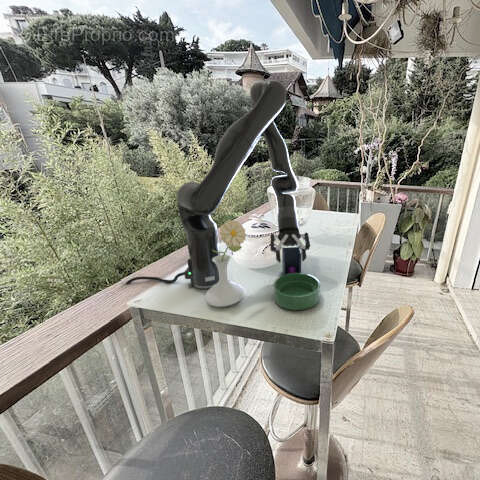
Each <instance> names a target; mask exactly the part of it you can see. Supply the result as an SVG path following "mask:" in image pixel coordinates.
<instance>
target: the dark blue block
mask: <svg viewBox="0 0 480 480" xmlns="http://www.w3.org/2000/svg"><path fill="white" fill-rule="evenodd" d="M281 252H282V253H281V254H282V255H281V256H282V257H281V258H282V259H281V261H282V263H281V264H282V276H283V275H286V274H288V273H287V270H288V268H289V267H294V268H295V269H296V273H302V255H301V249H300V248H299V247H297V246H288V247H282V249H281Z"/></svg>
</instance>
